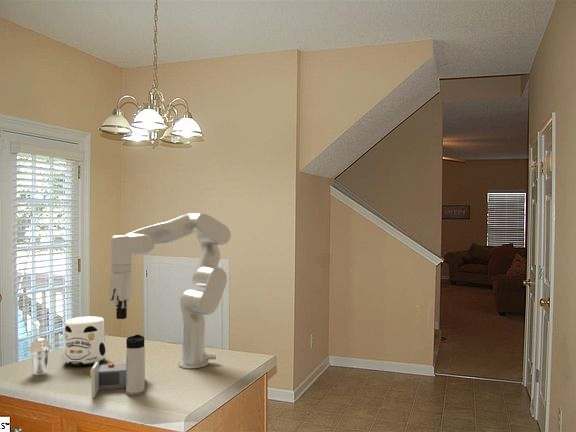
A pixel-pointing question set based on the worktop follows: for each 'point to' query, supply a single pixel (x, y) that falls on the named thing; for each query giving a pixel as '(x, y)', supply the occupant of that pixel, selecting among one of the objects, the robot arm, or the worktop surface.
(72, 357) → the milk container
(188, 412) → the worktop surface
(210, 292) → the robot arm
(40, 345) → the cup with straw
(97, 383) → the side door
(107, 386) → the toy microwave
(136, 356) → the travel mug
